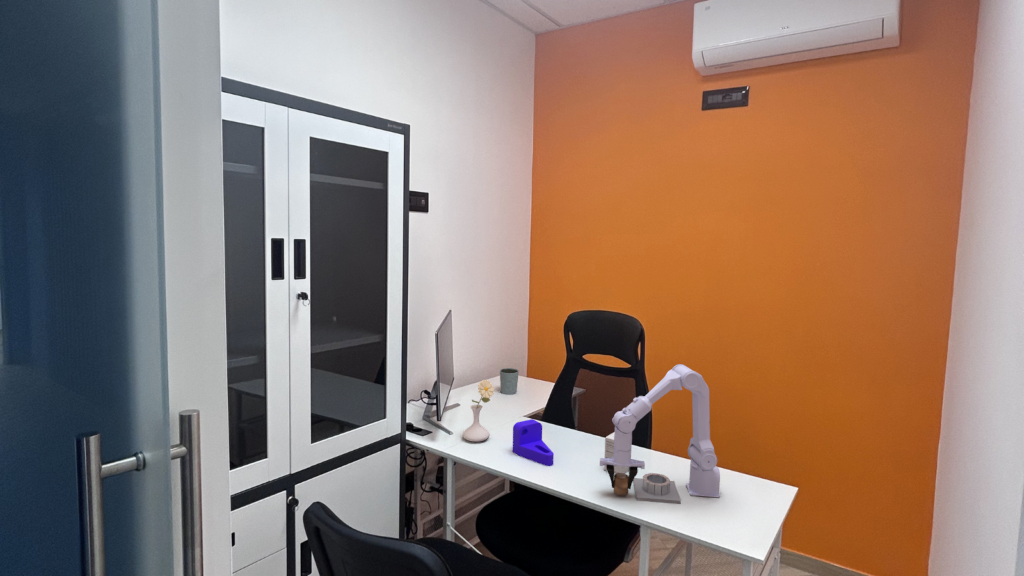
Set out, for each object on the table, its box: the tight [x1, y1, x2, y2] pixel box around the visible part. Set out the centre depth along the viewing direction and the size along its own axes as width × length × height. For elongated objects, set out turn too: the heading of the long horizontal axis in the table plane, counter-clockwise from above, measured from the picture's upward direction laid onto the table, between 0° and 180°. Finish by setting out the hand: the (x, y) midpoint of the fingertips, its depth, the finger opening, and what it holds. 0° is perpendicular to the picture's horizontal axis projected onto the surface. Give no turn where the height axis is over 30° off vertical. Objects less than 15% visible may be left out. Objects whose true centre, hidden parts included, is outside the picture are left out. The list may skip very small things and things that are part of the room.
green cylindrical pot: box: [499, 367, 520, 396], centre depth 291 cm, size 10×10×12 cm
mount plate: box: [632, 477, 682, 505], centre depth 185 cm, size 14×14×1 cm
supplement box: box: [603, 431, 629, 475], centre depth 200 cm, size 7×7×13 cm
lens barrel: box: [642, 472, 671, 495], centre depth 185 cm, size 9×9×4 cm
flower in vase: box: [462, 379, 495, 442], centre depth 227 cm, size 13×11×25 cm
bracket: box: [512, 418, 554, 467], centre depth 210 cm, size 18×11×12 cm, turn 33°
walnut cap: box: [613, 473, 629, 496], centre depth 182 cm, size 5×5×6 cm
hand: (621, 487), depth 182 cm, fingers closed on walnut cap, 5 cm apart
